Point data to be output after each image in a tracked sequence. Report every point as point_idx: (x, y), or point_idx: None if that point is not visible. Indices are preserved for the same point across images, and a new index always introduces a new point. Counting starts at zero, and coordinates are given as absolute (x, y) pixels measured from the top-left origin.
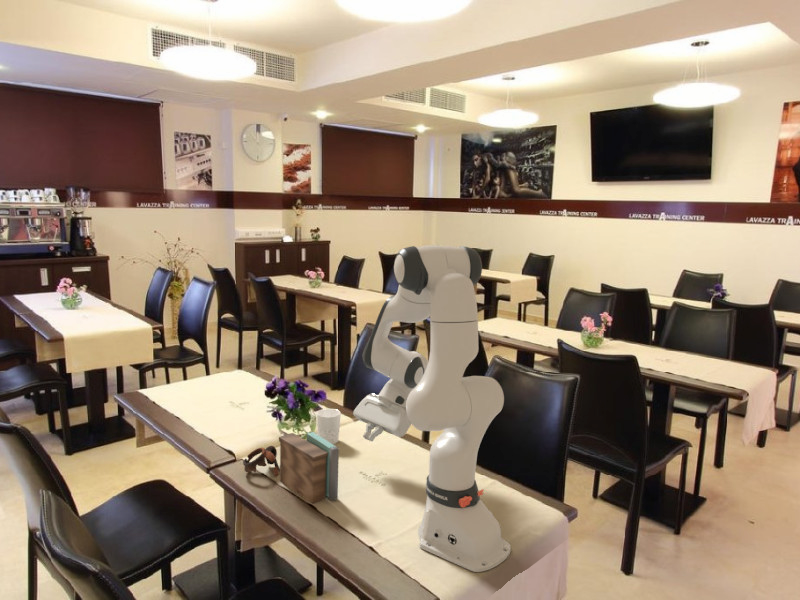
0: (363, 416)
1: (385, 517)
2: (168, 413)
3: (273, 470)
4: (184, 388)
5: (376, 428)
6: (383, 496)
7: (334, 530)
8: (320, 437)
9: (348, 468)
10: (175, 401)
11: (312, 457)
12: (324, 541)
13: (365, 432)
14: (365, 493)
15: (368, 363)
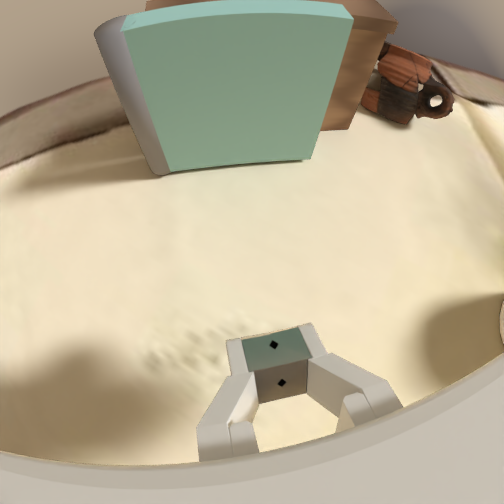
0: (490, 377)
1: (18, 250)
2: None
3: (366, 87)
4: None
5: (226, 430)
6: (87, 311)
7: (61, 130)
8: (269, 10)
9: (337, 307)
10: None
11: (153, 1)
12: (53, 109)
13: (316, 344)
14: (133, 269)
15: None
